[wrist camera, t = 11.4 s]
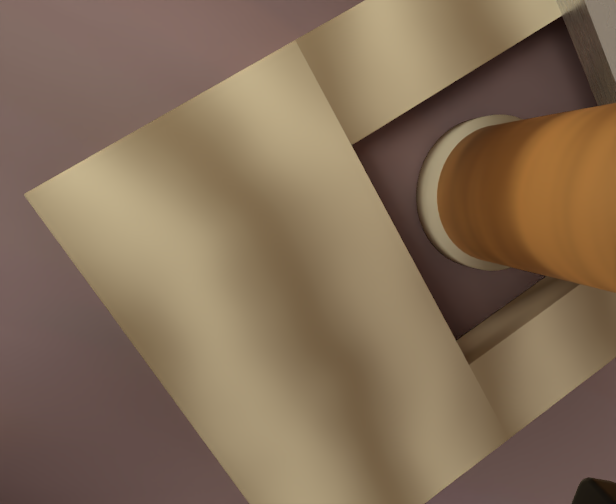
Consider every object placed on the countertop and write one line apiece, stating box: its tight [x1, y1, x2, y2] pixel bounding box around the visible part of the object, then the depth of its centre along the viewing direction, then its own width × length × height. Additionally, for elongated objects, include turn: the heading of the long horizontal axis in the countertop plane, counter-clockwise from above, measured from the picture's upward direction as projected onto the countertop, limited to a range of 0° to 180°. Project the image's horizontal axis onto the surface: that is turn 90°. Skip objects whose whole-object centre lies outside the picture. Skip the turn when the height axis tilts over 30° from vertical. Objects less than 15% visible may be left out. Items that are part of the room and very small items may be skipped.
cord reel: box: [416, 103, 616, 293], centre depth 16 cm, size 6×6×13 cm
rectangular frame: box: [24, 0, 616, 504], centre depth 21 cm, size 24×18×2 cm
